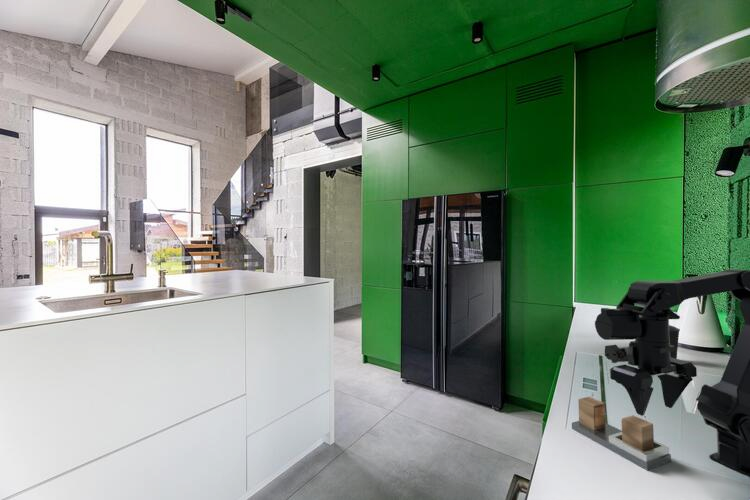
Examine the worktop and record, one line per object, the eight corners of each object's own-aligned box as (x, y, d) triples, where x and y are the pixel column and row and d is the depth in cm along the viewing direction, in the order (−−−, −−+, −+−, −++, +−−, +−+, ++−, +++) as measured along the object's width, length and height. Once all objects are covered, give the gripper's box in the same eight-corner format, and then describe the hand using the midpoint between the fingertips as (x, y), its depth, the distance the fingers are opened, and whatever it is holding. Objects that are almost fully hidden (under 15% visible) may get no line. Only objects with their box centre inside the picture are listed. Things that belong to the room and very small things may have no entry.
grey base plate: (593, 422, 84) (593, 411, 84) (671, 461, 68) (670, 447, 68) (571, 428, 81) (571, 416, 81) (647, 470, 65) (646, 456, 65)
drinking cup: (651, 358, 133) (650, 311, 133) (663, 356, 135) (662, 310, 136) (673, 364, 126) (671, 315, 126) (685, 362, 128) (684, 313, 128)
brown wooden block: (589, 419, 83) (589, 396, 83) (606, 427, 79) (605, 403, 79) (579, 422, 81) (578, 399, 82) (595, 430, 77) (594, 406, 78)
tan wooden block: (654, 451, 69) (653, 423, 69) (642, 455, 68) (641, 427, 68) (632, 440, 73) (631, 414, 73) (621, 444, 72) (620, 417, 72)
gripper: (639, 327, 79) (642, 389, 78) (585, 334, 73) (587, 401, 73) (696, 337, 68) (699, 409, 68) (638, 347, 62) (641, 426, 62)
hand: (654, 410), depth 68 cm, fingers open, 9 cm apart
